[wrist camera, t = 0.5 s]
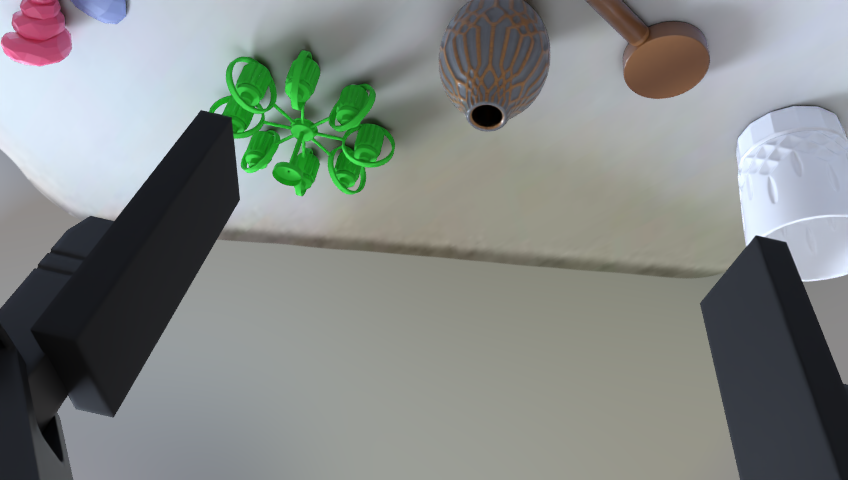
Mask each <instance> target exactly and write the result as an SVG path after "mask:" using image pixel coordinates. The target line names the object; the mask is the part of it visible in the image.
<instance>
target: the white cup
mask: <svg viewBox="0 0 848 480" xmlns="http://www.w3.org/2000/svg"><path fill="white" fill-rule="evenodd" d="M736 155H737V163H738V170H739V171H738V182H739V190H740V202H741V212H742V220H743V227H744V235H745V243H746V247H747V245H748V244H749V243H750V242H751V241H752V239H753V238H754V237H755V236H756V235H757V236H762V237H766V238H771V239H775V240H780V241H784V242H787V245H788V247H789V250H790V252H791V255H792V257H793V260H794V262H795V265H796V267H797V270H798V272H799V275H800V277H801V280H802V281H817V280H825V279H831V278H836V277H840V276H843V275H847V274H848V138H847V136H846V133H845V131H844V129H843V127H842V125H841V123H840V121H839V119H838V117H837V116H836V114H834V113H832V112H830V111H827V110H825V109H823V108H820V107H818V106H792V107H788V108H784V109H781V110H777V111H773V112H770V113H768V114H766V115H764V116H763V117H761V118H759V119H757V120H756V121H754V122H752V123H751V124H749V126H748V127H747V128H746V129H745V130H744V132H743V133H742V134H741V135H740V136H739V138H738V142H737V150H736Z"/></svg>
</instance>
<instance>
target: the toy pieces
mask: <svg viewBox="0 0 848 480" xmlns="http://www.w3.org/2000/svg"><path fill="white" fill-rule="evenodd" d="M71 1H72V2H73V4H74V5H75V6H76V7H77V8H78V9H80V10H81V11H83V12H84V13H86V14H87V15H89V16H91V17H93V18H95V19H97V20H99V21H101V22H103V23H112V24H117V23H119V22H120V21H121V20H122V19H123V18H125V17H126V2H125V0H71ZM20 8H21V11H18V12H16V13H14V14H13V18H12V26H13V28H14V30H15V31H16V32H9V33H6V34H5V35H4V36H3V37H2V40H1V45H2V48H3V50H4V53H5V54H6V55H7V56H9V57H10V58H11V59H12V60H14V61H16V62H19V63H22V64H25V65H36V66H43V65H48V64H52V63H57V62H60V61H61V60H63V59H64V58H66V57H67V56H68V55H69V53H70V51H71V49H72V43H71V34H70V33H69V32H68V30H67V29H66V28H65V17H64V15H63V14H62V13H61V12H60V9H61V7H60V4H59V2H58V0H22V3H21V5H20Z"/></svg>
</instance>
